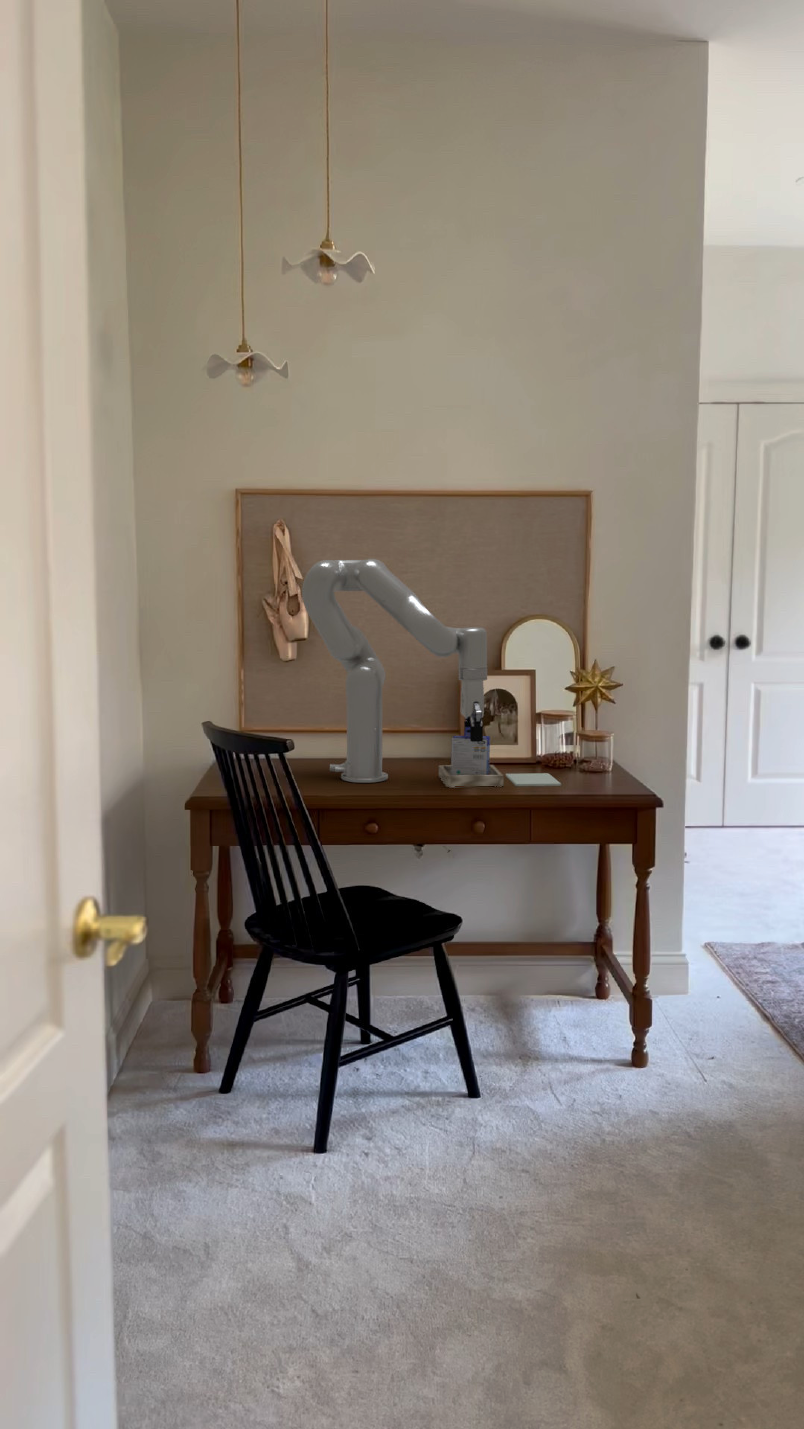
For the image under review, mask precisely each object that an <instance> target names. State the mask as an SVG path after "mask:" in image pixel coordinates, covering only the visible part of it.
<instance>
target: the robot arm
mask: <svg viewBox="0 0 804 1429" xmlns="http://www.w3.org/2000/svg"><path fill="white" fill-rule="evenodd" d="M335 592H364V593H365V594H366V595H368V596H369V597H370V598H371V600H373V601H374V602H375V603H376V604H378V605H379V606H380V607H381V608H382V609H384V611H385V612H387V613H388V614H389V615H390V616H391V617H392V618H393V619H394V621H396V622H397V623H398V624H399V625H400V626H401V627H402V628H404V630H406V631H407V632H408V633H409V634H410V635H411V636H412V637H413V638H414V639H415V640H417V641H418V642H419V643H420V644H421V645H422V646H424V648H426V650H428V651H429V652H430V653H431V654H432V655H434V656H436V657H438V658H448V657H449V656H451V655H453V654H457V656H458V680H459V681H461V688H460V714H461V715H462V716H463V717H464V722H463V723H464V726H463V728H464V731H463V732H464V733H465V727H470V730H467V732H470V741H471V742H479V741H483V736H484V731H483V730H484V729H483V728H484V726H483V719H482V718H483V717H484V715H485V714H484V713H485V702H484V701H485V696H484V695H485V694H484V692H485V691H484V690H485V686H484V681H487V680H488V633H487V630H486V629H485V628H484V627H480V626H479V627H477V626H474V627H473V626H472V627H469V626H468V627H461V628H460V627H459V628H457V627H452V626H445V625H444V624H443V623H442V622H441V621H440V620H439V619H438V618H436V616H435V615H434V614H432V612H430V610H428V608H426V607H425V605H424V604H423V603H422V602H421V600H420V598H419V597H418V595H416V593H415V592H414V591H413V590H412V589H411V588H409V587H408V586H407V585H406V584H404V582H402V581H401V579H399V578H398V577H397V576H396V575H395V574H393V572H391V571H390V570H389V569H388V567H387V566H386V564H385V563H384V562H383V561H381V560H379V559H376V558H367V559H346V560H345V559H336V560H335V559H322V560H319V561H318V562H316V563H314V564H313V565H312V566H311V567H310V568H309V570H308V571H307V573H306V575H305V577H304V580H303V582H302V590H301V595H302V596H301V597H302V602H303V605H304V608H305V610H306V612H307V614H308V616H309V618H310V620H311V621H312V623H313V625H314V627H315V629H316V631H317V632H318V634H319V636H320V637H321V639H322V641H323V643H324V645H325V646H326V648H327V651H328V652H329V654H330V655H331V657H332V658H334V660H336V661H338V662H340V663H341V665H342V666H343V668H344V670H345V671H346V673H347V674H346V679H345V696H346V760H345V761H344V762H342V763H341V764H338V763H337V764H336V763H330V764H329V772H334V773H340V772H341V774H340V778H341V779H342V780H343V781H345V782H350V783H356V784H357V783H361V784H367V783H369V784H371V783H380V782H383V781H387V780H388V779H389V774H388V773H387V772H384V771H383V687H384V684H385V681H386V670H385V668H384V666H383V663H381V661H380V659H379V657H378V656H377V654H376V651H375V650H374V649H373V647H372V645H371V643H370V642H369V640H368V639H367V637H366V634H364V633H363V631H362V630H361V629H360V628H358V627H357V626H355V625H352V623H351V621H350V620H349V619H348V617H347V615H346V614H345V611H344V610H343V608H342V606H341V605H340V603H339V601H338V600H337V598H336V595H335Z"/></svg>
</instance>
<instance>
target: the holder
mask: <svg viewBox="0 0 804 1429" xmlns="http://www.w3.org/2000/svg"><path fill="white" fill-rule="evenodd" d="M438 777H439V779H440V778H441V779H440V781H441V782H442V781H443V782H442V783H443V785H444V784H445V785H444V787H449V788H456V787H455V786H495V787H494V788H503V787H504V774H502V772H501V771H500V770H499V769H498V768H497V767H496V766H495V765H494V764H489V775H451V764H450V765H446V764H445V765H444V764H443V765H438ZM496 786H497V787H496ZM502 786H503V787H502Z"/></svg>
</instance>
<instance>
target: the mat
mask: <svg viewBox="0 0 804 1429" xmlns="http://www.w3.org/2000/svg"><path fill="white" fill-rule="evenodd" d="M505 777H506V778H507V779H508V780H509V781H510V782H511V783H512V784H513V785H514V786H515V787H562V783H561V782H560V781H559V780H557V779H556V778H555V777H554V776H552V775H551V774H550V773H548V772H547V773H546V772H543V773H539V772H538V773H505Z"/></svg>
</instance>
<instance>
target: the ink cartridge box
mask: <svg viewBox="0 0 804 1429" xmlns="http://www.w3.org/2000/svg"><path fill="white" fill-rule="evenodd" d="M467 730H470V727H465V733H464V734H463V735H457V734H456V735H454V736H452V738H451V752H450V753H451V754H450V755H451V756H450V762H451V764H450V765H451V775H489V765H490V759H491V758H490V754H491V745H490V743H491V736H489V735H488V736H487V735H483V741H479V742H471V741H470V732H467Z"/></svg>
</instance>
